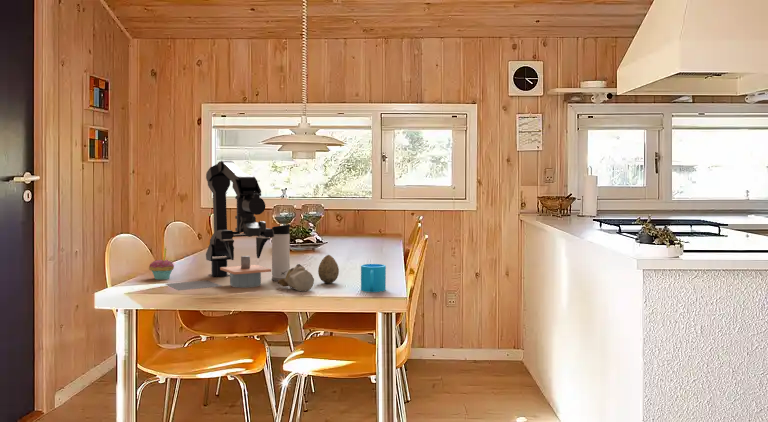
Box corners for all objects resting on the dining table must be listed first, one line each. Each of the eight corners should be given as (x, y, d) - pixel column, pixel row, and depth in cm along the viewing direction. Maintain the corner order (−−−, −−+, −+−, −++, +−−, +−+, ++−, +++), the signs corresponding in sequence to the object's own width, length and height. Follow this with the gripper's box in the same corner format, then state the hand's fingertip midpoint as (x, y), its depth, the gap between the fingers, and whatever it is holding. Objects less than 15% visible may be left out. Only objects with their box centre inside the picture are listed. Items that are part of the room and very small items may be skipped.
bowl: (226, 285, 241) (226, 269, 241) (253, 282, 247) (253, 267, 247) (237, 289, 233) (237, 273, 233) (265, 286, 238) (265, 271, 238)
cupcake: (179, 278, 256) (178, 245, 255) (164, 281, 248) (164, 247, 247) (159, 277, 259) (158, 244, 258) (143, 280, 251) (143, 246, 250)
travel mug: (287, 281, 250) (287, 225, 249) (269, 281, 251) (269, 224, 250) (292, 279, 256) (292, 223, 255) (275, 278, 257) (275, 223, 256)
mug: (362, 287, 239) (362, 263, 238) (386, 288, 238) (386, 264, 238) (358, 294, 227) (358, 268, 226) (384, 294, 226) (384, 269, 226)
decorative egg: (320, 285, 243) (320, 256, 242) (316, 282, 250) (316, 253, 249) (340, 284, 245) (340, 255, 244) (336, 281, 252) (336, 253, 251)
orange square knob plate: (220, 269, 241) (220, 255, 241) (255, 267, 249) (255, 253, 248) (234, 274, 231) (234, 259, 230) (271, 271, 238) (271, 257, 237)
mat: (164, 284, 241) (164, 283, 241) (207, 281, 250) (207, 280, 250) (178, 291, 229) (178, 290, 229) (222, 287, 237) (222, 286, 237)
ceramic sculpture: (291, 266, 226) (274, 263, 239) (291, 293, 226) (274, 289, 239) (321, 264, 231) (303, 262, 244) (322, 291, 231) (304, 287, 244)
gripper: (227, 215, 227) (227, 263, 228) (280, 213, 237) (280, 260, 238) (215, 213, 236) (215, 259, 237) (267, 211, 246) (267, 256, 247)
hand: (245, 259), depth 239 cm, fingers open, 9 cm apart
